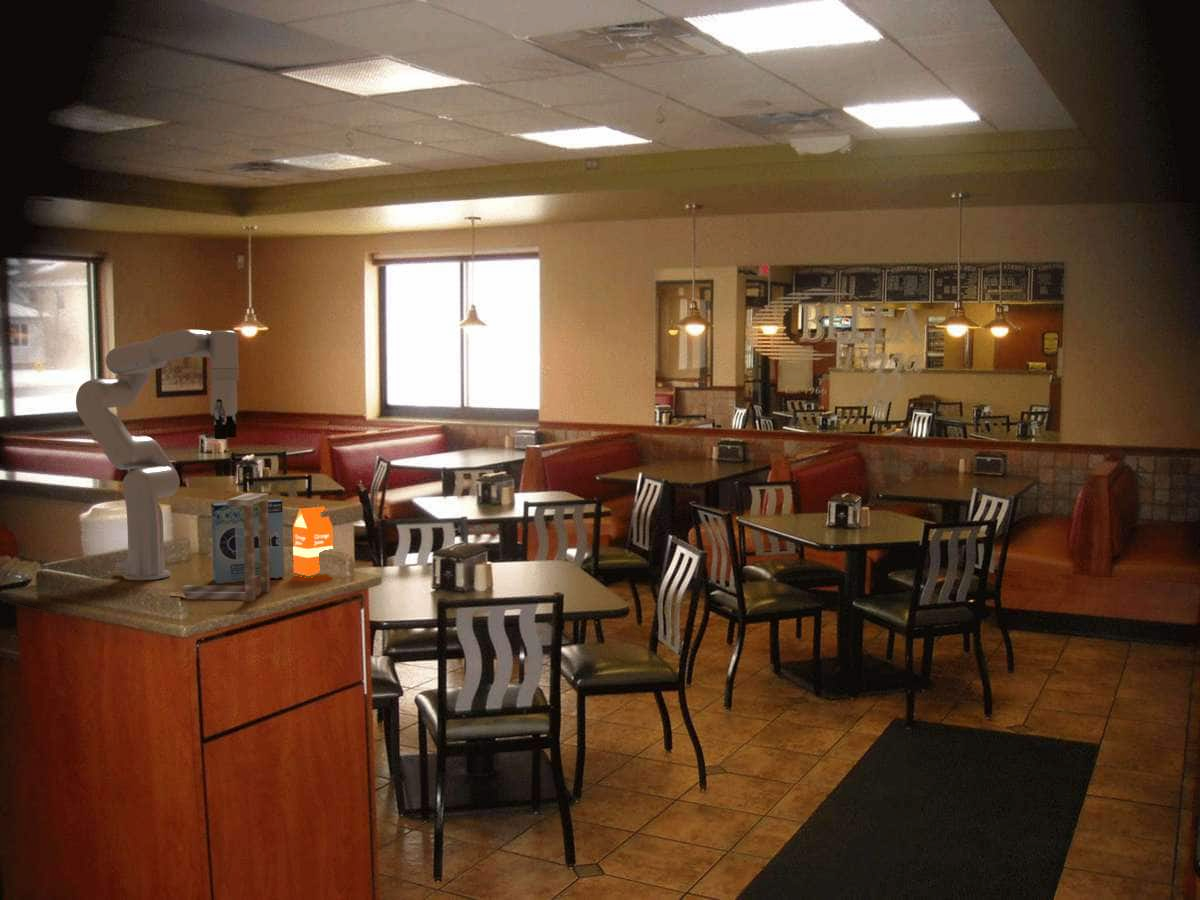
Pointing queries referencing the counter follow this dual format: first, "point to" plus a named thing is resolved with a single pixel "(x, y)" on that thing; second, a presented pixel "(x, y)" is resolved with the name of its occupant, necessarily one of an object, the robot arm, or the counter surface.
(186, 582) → the counter surface
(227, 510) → the gum box
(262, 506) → the metal strip frame
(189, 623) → the counter surface
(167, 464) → the robot arm
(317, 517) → the orange juice
